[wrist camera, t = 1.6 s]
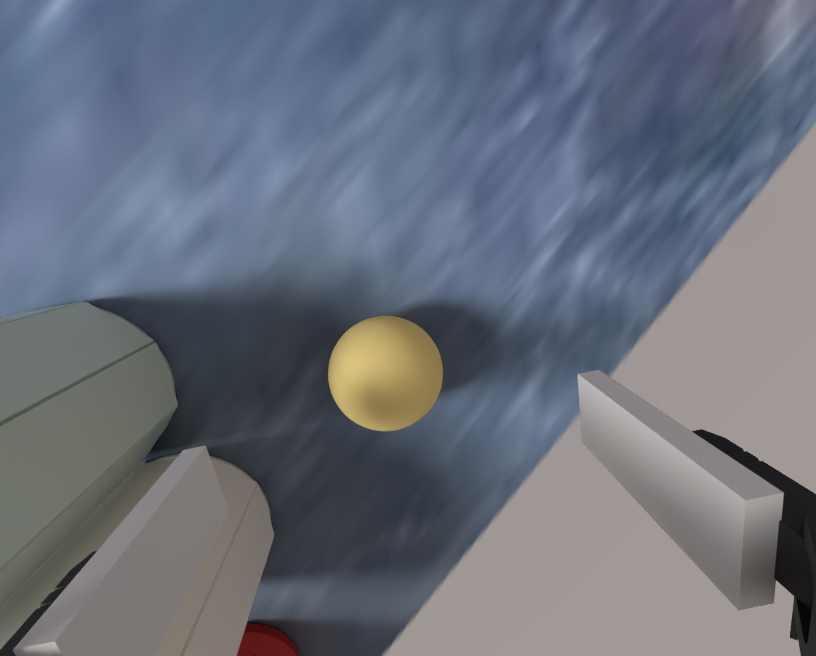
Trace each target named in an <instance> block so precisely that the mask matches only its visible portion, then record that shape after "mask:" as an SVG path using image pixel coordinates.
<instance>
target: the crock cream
mask: <svg viewBox="0 0 816 656" xmlns="http://www.w3.org/2000/svg"><path fill="white" fill-rule="evenodd" d="M178 456H179V454H173V455H168V456H164V457H160V458H157V459H155V460H152V461H150V462H148V463H146V464H141V465H138V466H137V467H136V468H135V469H134V470H133V471H132V472H131V473H130V474H129V475H128V476H127V477H126V478H125V479H124V480H123V481H122V482H121V483H120V484H119V485H118V486H117V487H116V488H115V489H114V491H113V492H112V493H111V494H110V495H109V496H108V497H107V498H106V499H105V500H104V501H103V502H102V503H101V504H100V505H99V506H98V507H97V508H96V509H95V510H94V511H93V512H92V513H91V514H90V515H89V516H88V517H87V518H86V519H85V520H84V521H83V522H82V523H81V524H80V525H79V526H78V527H77V528H76V529H75V531H74V532H73V533H72V534H71V535H70V536H69V537H68V538H67V539H66V540H65V541H64V542H63V543H62V544H61V545H60V546H59V547H58V548H57V549H56V550H55V551H54V552H53V553H52V554H51V555H50V556H49V557H48V558H47V559H46V560H45V561H44V562H43V563H42V564H41V565H40V566H39V567H38V568H37V569H36V571H35V572H34V573H33V574H32V575H31V576H30V577H29V578H28V579H27V580H26V581H25V582H24V583H23V584H22V585H21V586H20V587H19V588H18V589H17V590H16V591H15V592H14V593H13V594H12V595H11V596H10V597H9V598H8V599H7V600H6V601H5V602H4V603H3V604H2V605H1V606H0V649H1V648H2V647H3V646H4V645H5V644H6V643H7V641H8V640H9V639H10V638H11V637H12V636H13V635H14V634H15V632H16V631H17V630H18V629H19V628H20V627H21V626H22V624H23V623H24V622H25V621H26V620H27V619H28V618H29V617H30V615H31V614H32V613H33V612H34V611H35V610H36V609H38V608H40V604H41V603H42V602H43V601H44V600H45V598H46V597H47V596H48V595H49V594H50V593H51V592H54V588H55V587H56V586H57V585H58V584H59V583H60V581H61V580H62V579H63V578H64V577H65V576H66V575H67V573H68V572H69V571H70V570H71V569H72V568H73V567H75V566H76V565H77V564H78V563H80V562H81V561H82V560H83V559H85V558H86V557H87V556H88V555H90V554H91V553H92V552H93V551H98V549H99V548H100V547H101V546H102V545H103V544H104V542H105V541H106V540H107V539H108V538H109V537H110V535H111V534H112V533H113V532H114V531H115V530H116V528H117V527H118V526H119V525H120V524H121V522H122V521H123V520H124V519H125V518H126V517H127V515H128V514H129V513H130V512H131V511H132V510H133V508H134V507H135V506H136V505H137V504H138V503H139V501H140V500H141V499H142V498H143V497H144V496H145V494H146V493H147V492H148V491H149V490H150V488H151V487H152V486H153V485H154V484H155V483H156V481H157V480H158V479H159V478H160V477H161V476H162V474H163V473H164V472H165V471H166V470H167V469H168V467H169V466H170V465H171V464H172V463H173V462H174V460H175V459H176V458H177V457H178ZM210 459H211V462H212V465H213V468H214V471H215V473H216V476H217V479H218V482H219V485H220V488H221V491H222V493H223V496H224V499H225V502H226V505H227V508H228V511H229V513H228V515H227V517H226V519H225V521H224V523H223V525H222V527H221V529H220V531H219V533H218V535H217V537H216V538H215V540H214V542H213V544H212V546H211V548H210V550H209V552H208V554H207V556H206V558H205V560H204V562H203V564H202V566H201V568H200V570H199V572H198V574H197V576H196V578H195V579H194V581H193V583H192V585H191V587H190V589H189V591H188V593H187V595H186V597H185V599H184V601H183V603H182V605H181V607H180V609H179V611H178V613H177V615H176V617H175V619H174V620H173V622H172V624H171V626H170V628H169V630H168V632H167V634H166V636H165V638H164V640H163V642H162V644H161V646H160V648H159V650H158V652H157V654H156V656H237V653H238V650H239V646H240V643H241V640H242V637H243V634H244V630H245V627H246V624H247V621H248V618H249V615H250V611H251V608H252V605H253V602H254V599H255V596H256V592H257V589H258V586H259V583H260V580H261V577H262V573H263V570H264V567H265V564H266V561H267V558H268V554H269V551H270V548H271V545H272V542H273V538H274V531H273V528H272V525H271V512H270V508H269V504H268V501H267V499H266V496H265V495H264V493H263V491H262V489H261V488H260V487H259V484H257V482H255V481H254V480H253V479H252V478H251V477H250V476H249V475H248V474H247V473H246V472H244V471H243V470H242V469H240V468H239V467H237V466H235V465H234V464H232V463H230V462H227V461H225V460H223V459H220V458H217V457H213V456H210Z"/></svg>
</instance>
